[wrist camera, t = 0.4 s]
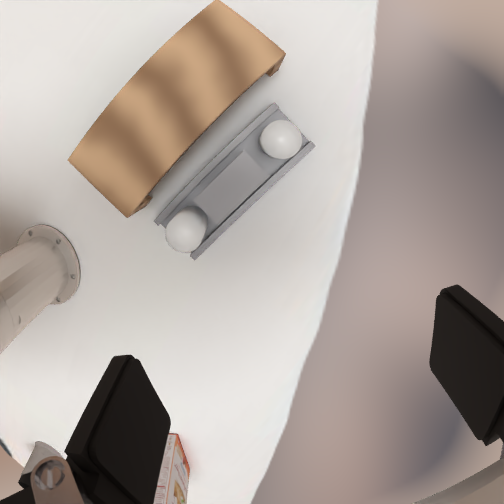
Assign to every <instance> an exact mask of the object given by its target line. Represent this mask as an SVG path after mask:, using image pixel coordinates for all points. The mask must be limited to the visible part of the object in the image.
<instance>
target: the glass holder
mask: <svg viewBox="0 0 504 504" xmlns="http://www.w3.org/2000/svg"><path fill="white" fill-rule="evenodd" d="M50 456H59V457H62V456H61V455H60V454H59V452H57V451H56V450H55V449H54V448H52V447H51V446H49V445H48V444H46V443H43V442H40V441H37V442H36V443H35V448H34V450H33V452H32V454H31V456H30V458H29V460H28V462H27V464H26V466H25V468H24V470H23V472H22V474H21V478H20V480H19V482H18V483H19V484H20V486H22V487H23V488H24V489H25V488H27V487H29V486H31V473H32V470H33V469H34V467H35V465H36V464H37V463H38V462H39V461H41V460H43V459H44V458H46V457H50Z"/></svg>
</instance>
